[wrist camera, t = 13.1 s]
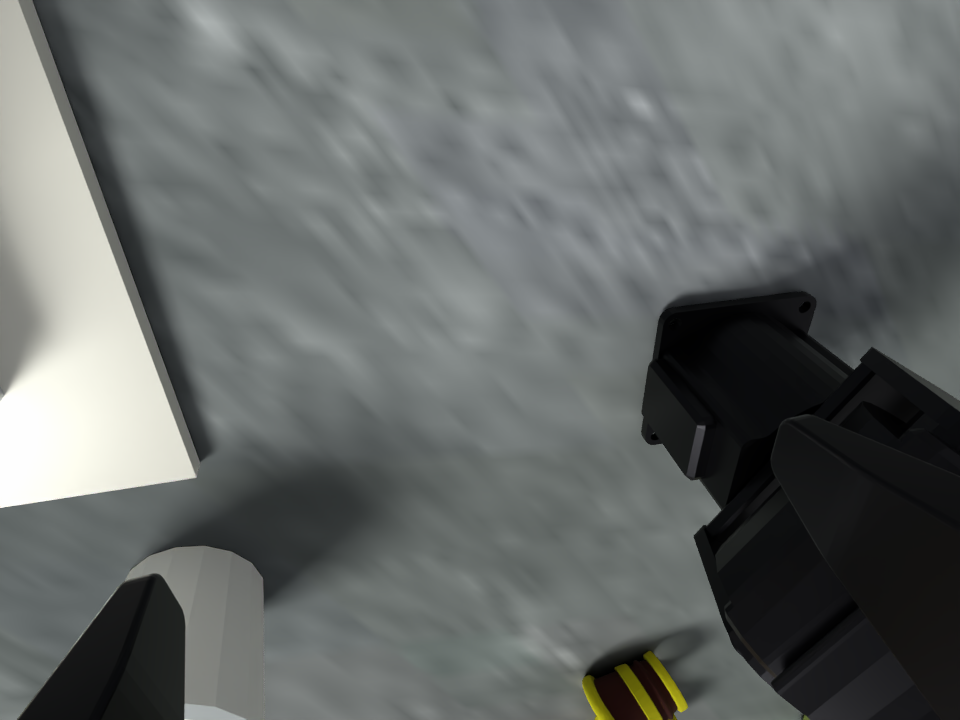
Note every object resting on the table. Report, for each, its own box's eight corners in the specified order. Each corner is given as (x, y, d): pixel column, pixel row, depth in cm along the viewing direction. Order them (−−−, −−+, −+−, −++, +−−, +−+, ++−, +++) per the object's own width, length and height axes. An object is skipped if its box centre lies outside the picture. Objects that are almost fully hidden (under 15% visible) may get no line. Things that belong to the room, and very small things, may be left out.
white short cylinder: (111, 527, 24) (42, 707, 18) (293, 542, 26) (283, 706, 20) (100, 638, 27) (37, 822, 21) (263, 642, 29) (248, 809, 23)
